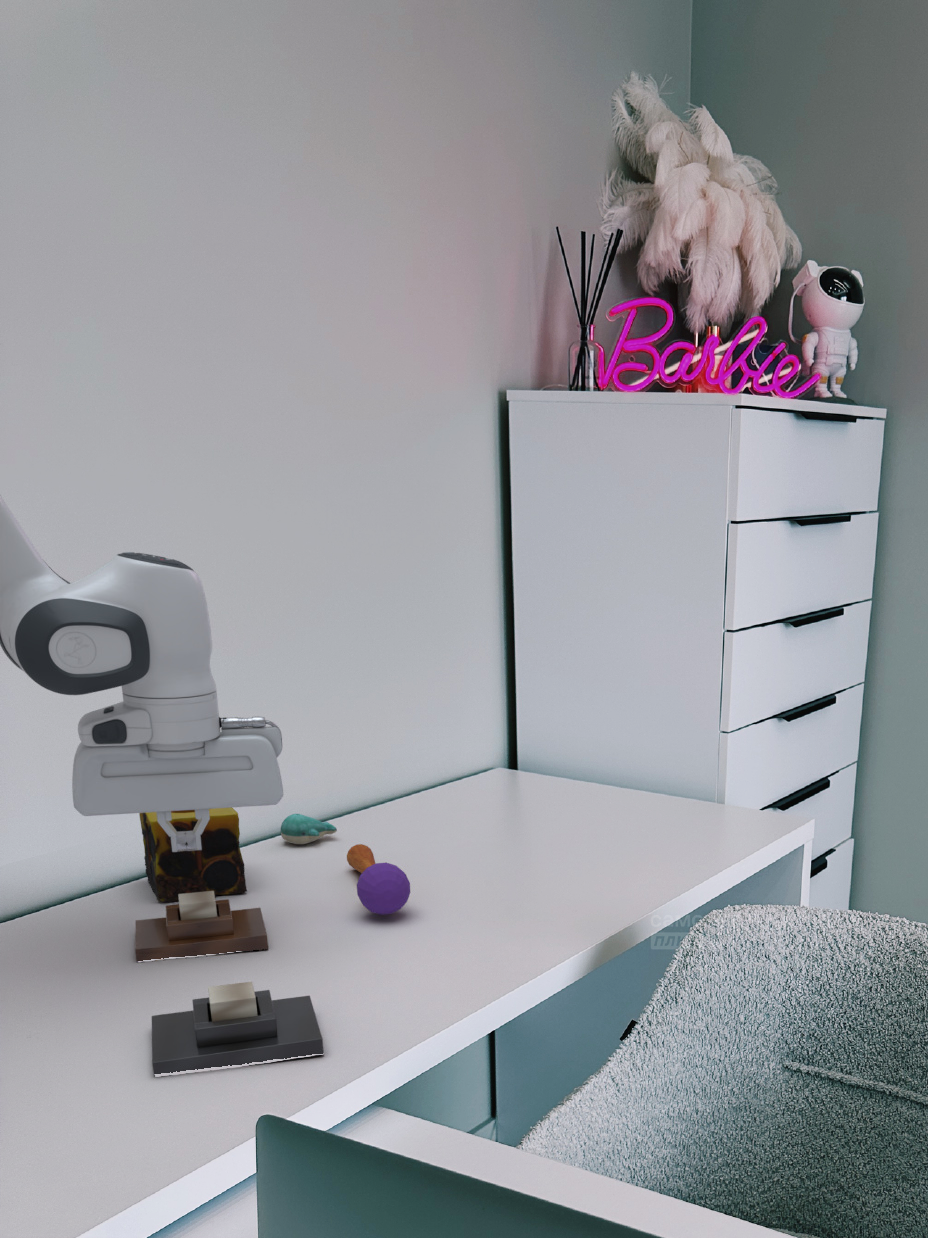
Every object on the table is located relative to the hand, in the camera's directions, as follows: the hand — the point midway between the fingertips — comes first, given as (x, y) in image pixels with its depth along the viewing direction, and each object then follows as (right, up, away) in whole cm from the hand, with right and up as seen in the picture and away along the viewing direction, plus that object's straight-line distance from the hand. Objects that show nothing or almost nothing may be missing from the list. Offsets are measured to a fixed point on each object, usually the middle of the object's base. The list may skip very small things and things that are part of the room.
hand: (187, 849), depth 132 cm
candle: (-7, -3, +20) cm, 22 cm away
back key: (0, -7, +3) cm, 7 cm away
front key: (+12, -16, -20) cm, 28 cm away
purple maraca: (+15, -4, +20) cm, 25 cm away
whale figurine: (+1, +4, +40) cm, 40 cm away
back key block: (0, -10, +4) cm, 11 cm away
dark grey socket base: (+12, -19, -19) cm, 29 cm away
